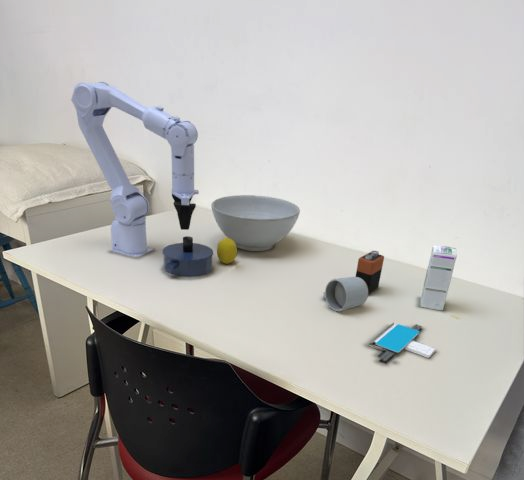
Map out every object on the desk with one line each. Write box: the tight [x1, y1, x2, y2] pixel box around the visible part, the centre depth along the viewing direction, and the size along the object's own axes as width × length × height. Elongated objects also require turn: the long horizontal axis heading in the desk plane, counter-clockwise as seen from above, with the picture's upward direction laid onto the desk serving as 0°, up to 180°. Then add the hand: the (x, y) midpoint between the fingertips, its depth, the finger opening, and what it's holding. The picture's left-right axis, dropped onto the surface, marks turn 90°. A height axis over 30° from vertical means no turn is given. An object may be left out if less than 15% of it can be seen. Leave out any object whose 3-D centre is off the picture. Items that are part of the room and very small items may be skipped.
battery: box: [355, 250, 385, 295], centre depth 129 cm, size 4×7×10 cm, turn 143°
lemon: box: [216, 236, 238, 265], centre depth 138 cm, size 6×6×8 cm
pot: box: [162, 254, 213, 278], centre depth 134 cm, size 13×18×5 cm
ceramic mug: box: [322, 276, 369, 312], centre depth 121 cm, size 11×8×8 cm
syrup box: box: [419, 244, 458, 311], centre depth 122 cm, size 6×6×14 cm
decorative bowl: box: [211, 194, 301, 252], centre depth 154 cm, size 27×27×12 cm
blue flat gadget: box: [367, 322, 436, 364], centre depth 106 cm, size 20×12×2 cm, turn 143°
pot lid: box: [162, 235, 214, 262], centre depth 132 cm, size 13×13×5 cm
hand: (183, 224), depth 136 cm, fingers open, 7 cm apart
